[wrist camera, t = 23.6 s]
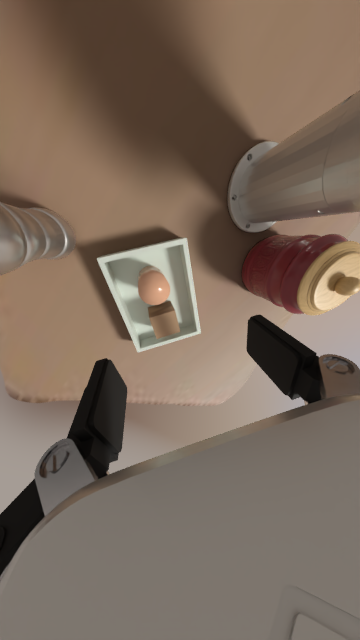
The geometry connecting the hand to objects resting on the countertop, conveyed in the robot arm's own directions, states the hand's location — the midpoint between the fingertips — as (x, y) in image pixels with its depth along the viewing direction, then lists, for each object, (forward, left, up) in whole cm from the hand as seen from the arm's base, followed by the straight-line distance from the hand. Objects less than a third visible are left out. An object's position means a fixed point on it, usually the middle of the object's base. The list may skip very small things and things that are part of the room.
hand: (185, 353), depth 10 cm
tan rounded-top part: (+1, 0, -23) cm, 23 cm away
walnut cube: (+1, +8, -23) cm, 25 cm away
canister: (-25, +4, -24) cm, 35 cm away
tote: (+1, +4, -24) cm, 24 cm away
